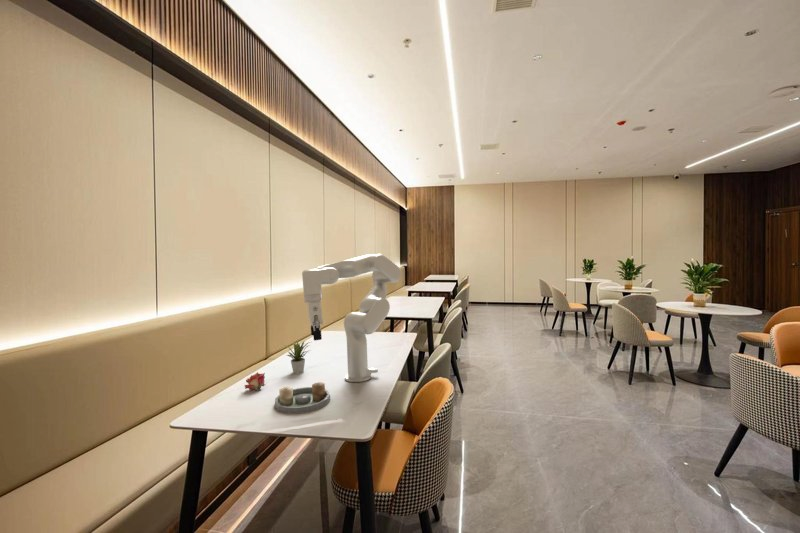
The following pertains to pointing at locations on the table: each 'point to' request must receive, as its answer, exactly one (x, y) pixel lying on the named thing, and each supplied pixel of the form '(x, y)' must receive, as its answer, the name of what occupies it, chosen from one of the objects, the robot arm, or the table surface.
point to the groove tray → (302, 401)
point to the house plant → (298, 357)
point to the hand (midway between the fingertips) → (316, 337)
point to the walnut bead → (318, 391)
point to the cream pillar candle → (286, 396)
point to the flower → (255, 381)
